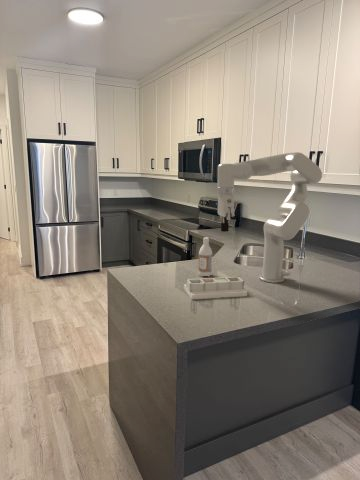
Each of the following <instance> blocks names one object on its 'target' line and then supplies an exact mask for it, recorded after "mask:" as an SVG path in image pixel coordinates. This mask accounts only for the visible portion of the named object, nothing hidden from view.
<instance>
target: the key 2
mask: <svg viewBox="0 0 360 480" xmlns="http://www.w3.org/2000/svg"><path fill="white" fill-rule="evenodd" d="M215 280H216V281H217V282H227V281H226V280H225V279H215Z"/></svg>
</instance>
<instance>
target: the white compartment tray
mask: <svg viewBox="0 0 360 480" xmlns="http://www.w3.org/2000/svg"><path fill="white" fill-rule="evenodd" d="M215 279H225V280H226V281H227V282H217V281H216V280H215ZM206 282H209V283H206ZM183 289H184V291H186V293H187V295H188V297H189V298H190V299H191V300H206V299H221V297H222V298H223V297H224V298H235V297H237V298H238V297H247V296H248V291H247V290H246V289H245V281H244V280H243V279H242V278H241V277H239V276H228V277H225V276H224V277H204V278H201V277H200V278H187V279H186V283H184V284H183ZM224 298H223V299H224Z"/></svg>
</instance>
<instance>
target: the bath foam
mask: <svg viewBox="0 0 360 480" xmlns="http://www.w3.org/2000/svg"><path fill="white" fill-rule="evenodd" d="M202 243H203V244H202V245H201V247H200V249H199V251H198V269H197V270H198V276H200V277H203V276H208V277H211V276H212V274H213V273H212V272H213V250H212V248H211V246H210V238H209V237H207V236H206V237H203V239H202ZM210 275H211V276H210Z"/></svg>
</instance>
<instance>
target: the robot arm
mask: <svg viewBox="0 0 360 480" xmlns="http://www.w3.org/2000/svg"><path fill="white" fill-rule="evenodd" d="M285 172H290V182H291V188H290V191H289V193H288V195H287V196H286V197H285V199H284V200H283V201H282V203H281V204H280V205H279V207H278V209H277V210H278V211H277V214H278V216H279V217H275V216H274V217H270V218H268V219H266V220H265V221H264V224H263V234H264V235H263V236H264V244H263V245H264V247H263V258H262V259H263V261H262V272H261V273H260V274H259V275H258V279H259V278H260V279H259V280H261V281H263V282H265V283H266V282H267V283H274V284H275V283H276V284H277V283H283V282H284V281H285V277H286V276H287V277H288V276H291V272H290V271H285V270H283V263H284V262H283V261H284V250H285V249H284V248H285V242H284V241H289V240H292V239H293V238H295V237H296V235H297V234H298V232H299V231H300V230H301V228H302V227H303V226H304V225H305V223H306V221H307V220H308V219H309V216H310V208H309V205H308V204H307V203H305V201H306V200H307V197H308V192H309V191H308V186H307V185H316V184H318V183H319V182H321V180H322V177H323V172H322V169H321V168H320V166H318V165H317V164H316V163H315V162H314V161H313V160H311V159H310V158H309V157H308V156H307V155H306V154H303V152H298V151H297V152H286V153H282V154H281V153H280V154H276V155H270V156H266V157H260V158H255V159H251V160H246V161H245V160H244V161H239V162H235V163H220V164H218V165H217V184H216V185H217V186H216V187H217V188H216V190H217V192H216V193H217V194H216V195H217V196H218V197H217V215H218V216H219V218H220V231H221V232H223V233H224V232H225V233H226V232H229V226H230V225H229V222H230V220H231V217H232V218H233V217H234V216H235V198H234V195H235V181H247V180H249V179H250V178H251V177H265V176H266V177H267V176H271V175H276V174H280V173H281V174H282V173H285Z"/></svg>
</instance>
